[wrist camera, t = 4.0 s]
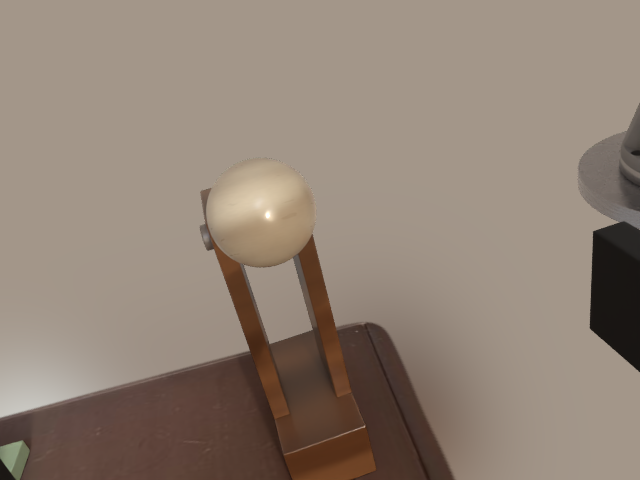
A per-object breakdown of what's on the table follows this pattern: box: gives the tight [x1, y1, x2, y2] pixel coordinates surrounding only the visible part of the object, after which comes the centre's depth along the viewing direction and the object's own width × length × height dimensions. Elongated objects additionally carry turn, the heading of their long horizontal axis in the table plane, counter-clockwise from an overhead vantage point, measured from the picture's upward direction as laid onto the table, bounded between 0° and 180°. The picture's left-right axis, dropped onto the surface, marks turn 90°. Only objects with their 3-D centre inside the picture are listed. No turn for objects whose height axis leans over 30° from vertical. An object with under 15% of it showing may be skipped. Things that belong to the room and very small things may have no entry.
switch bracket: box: [200, 188, 376, 480], centre depth 34 cm, size 10×6×18 cm, turn 14°
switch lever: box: [206, 158, 316, 267], centre depth 24 cm, size 15×4×4 cm, turn 14°
